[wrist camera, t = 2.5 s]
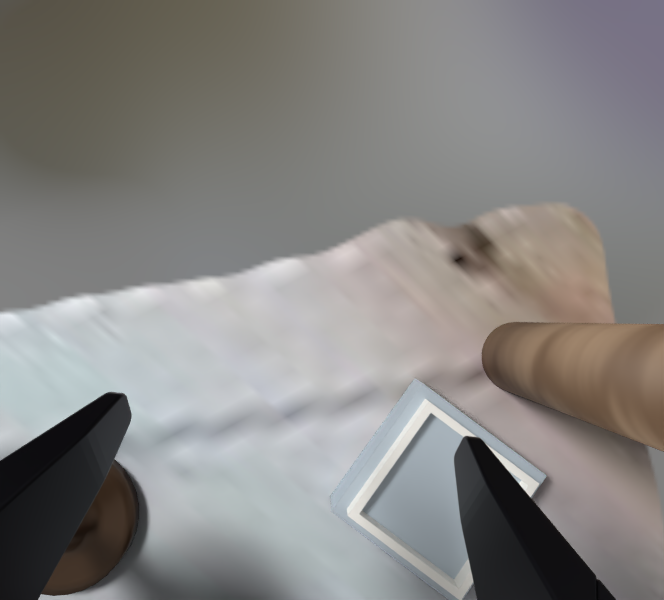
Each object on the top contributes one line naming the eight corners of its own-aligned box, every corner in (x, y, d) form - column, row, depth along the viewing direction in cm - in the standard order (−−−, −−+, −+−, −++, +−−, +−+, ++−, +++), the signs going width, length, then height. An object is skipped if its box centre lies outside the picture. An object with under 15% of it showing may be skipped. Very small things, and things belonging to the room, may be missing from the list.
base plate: (447, 583, 24) (463, 617, 22) (330, 496, 25) (331, 518, 22) (528, 463, 25) (555, 481, 22) (414, 378, 25) (426, 385, 22)
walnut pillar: (563, 370, 26) (812, 422, 13) (504, 405, 25) (696, 496, 12) (527, 309, 26) (737, 299, 13) (468, 343, 25) (621, 369, 12)
